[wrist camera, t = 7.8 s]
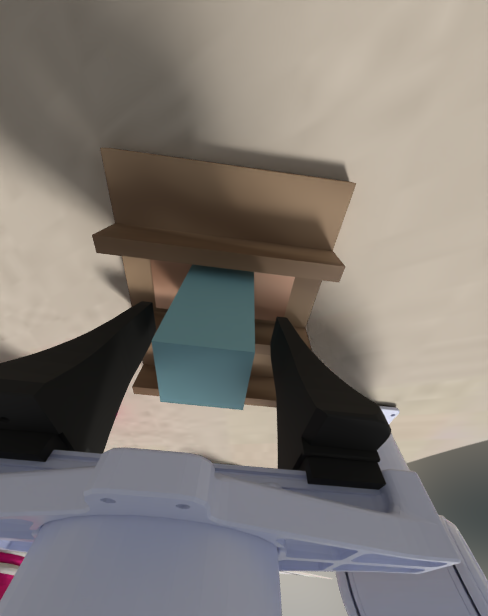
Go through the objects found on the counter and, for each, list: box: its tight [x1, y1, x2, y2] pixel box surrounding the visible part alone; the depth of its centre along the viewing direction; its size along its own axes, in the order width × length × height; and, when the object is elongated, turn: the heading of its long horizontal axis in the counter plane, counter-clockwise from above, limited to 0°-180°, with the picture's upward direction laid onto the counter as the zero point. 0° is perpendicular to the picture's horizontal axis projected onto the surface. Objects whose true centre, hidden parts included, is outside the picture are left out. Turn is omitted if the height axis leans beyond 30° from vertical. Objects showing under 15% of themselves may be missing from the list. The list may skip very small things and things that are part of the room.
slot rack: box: [92, 148, 356, 407], centre depth 18 cm, size 22×14×4 cm, turn 173°
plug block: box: [151, 265, 255, 410], centre depth 13 cm, size 4×4×8 cm
